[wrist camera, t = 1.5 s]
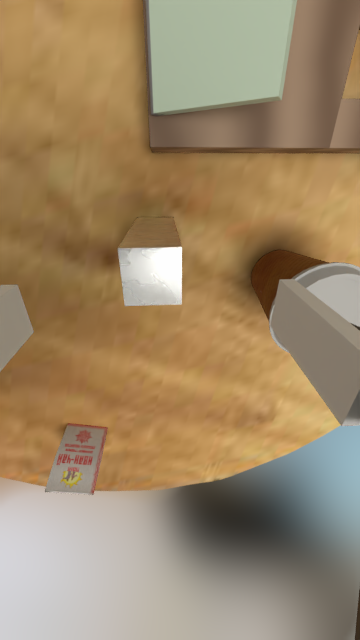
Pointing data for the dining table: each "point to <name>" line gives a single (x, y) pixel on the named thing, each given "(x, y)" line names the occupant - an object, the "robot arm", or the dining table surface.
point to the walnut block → (283, 97)
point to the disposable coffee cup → (308, 283)
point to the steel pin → (151, 263)
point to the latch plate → (216, 52)
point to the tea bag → (77, 460)
